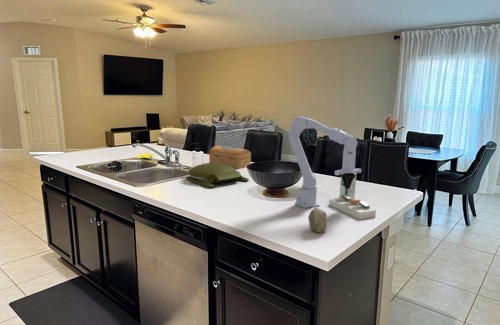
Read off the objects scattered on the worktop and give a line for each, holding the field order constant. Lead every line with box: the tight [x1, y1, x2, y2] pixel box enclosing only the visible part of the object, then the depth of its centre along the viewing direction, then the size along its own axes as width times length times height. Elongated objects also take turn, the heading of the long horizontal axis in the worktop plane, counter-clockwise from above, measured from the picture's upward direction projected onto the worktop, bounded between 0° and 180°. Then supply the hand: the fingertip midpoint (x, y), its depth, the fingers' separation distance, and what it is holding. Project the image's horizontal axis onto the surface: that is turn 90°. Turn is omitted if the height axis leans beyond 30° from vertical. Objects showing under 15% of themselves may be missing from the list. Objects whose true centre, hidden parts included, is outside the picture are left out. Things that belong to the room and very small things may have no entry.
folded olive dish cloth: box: [185, 162, 250, 189], centre depth 219 cm, size 35×31×10 cm
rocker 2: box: [359, 200, 371, 208], centre depth 158 cm, size 3×4×1 cm, turn 24°
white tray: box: [328, 196, 377, 220], centre depth 163 cm, size 9×22×3 cm, turn 24°
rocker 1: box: [350, 198, 361, 203], centre depth 164 cm, size 3×4×1 cm, turn 25°
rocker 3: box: [342, 194, 352, 201], centre depth 169 cm, size 3×4×1 cm, turn 25°
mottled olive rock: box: [308, 206, 328, 233], centre depth 138 cm, size 9×8×10 cm
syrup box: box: [338, 173, 357, 199], centre depth 180 cm, size 6×6×14 cm
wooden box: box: [208, 145, 252, 170], centre depth 265 cm, size 30×16×14 cm, turn 51°
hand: (347, 188), depth 167 cm, fingers closed
